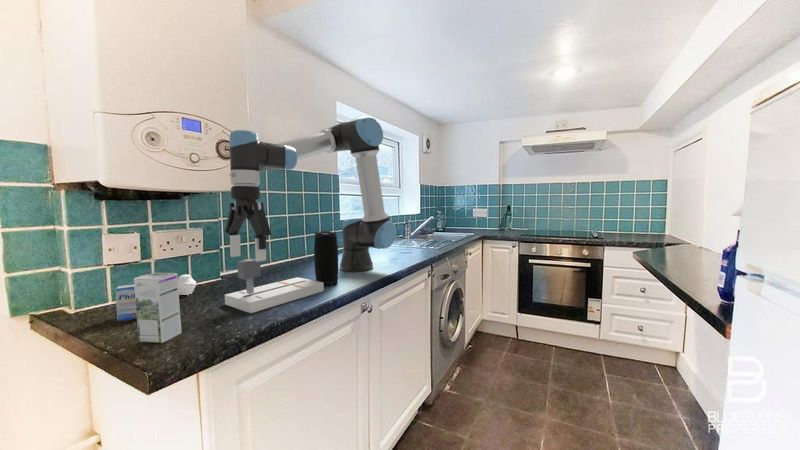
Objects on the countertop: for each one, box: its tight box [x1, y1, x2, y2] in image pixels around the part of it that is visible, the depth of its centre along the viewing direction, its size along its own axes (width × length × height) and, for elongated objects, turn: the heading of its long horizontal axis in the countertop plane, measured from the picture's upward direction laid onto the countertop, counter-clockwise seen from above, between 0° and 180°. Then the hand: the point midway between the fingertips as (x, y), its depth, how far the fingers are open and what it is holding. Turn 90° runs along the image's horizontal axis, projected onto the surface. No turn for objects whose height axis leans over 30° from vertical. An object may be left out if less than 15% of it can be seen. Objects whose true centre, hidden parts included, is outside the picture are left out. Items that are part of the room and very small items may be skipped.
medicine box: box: [114, 283, 137, 322], centre depth 84 cm, size 8×4×9 cm, turn 123°
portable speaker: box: [313, 230, 339, 288], centre depth 115 cm, size 9×9×20 cm
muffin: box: [178, 273, 197, 296], centre depth 104 cm, size 6×6×7 cm
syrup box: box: [133, 272, 182, 344], centre depth 69 cm, size 6×6×14 cm
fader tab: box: [237, 258, 262, 294], centre depth 92 cm, size 5×4×10 cm
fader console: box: [224, 276, 325, 314], centre depth 100 cm, size 26×14×3 cm, turn 145°
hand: (247, 258), depth 91 cm, fingers open, 13 cm apart
